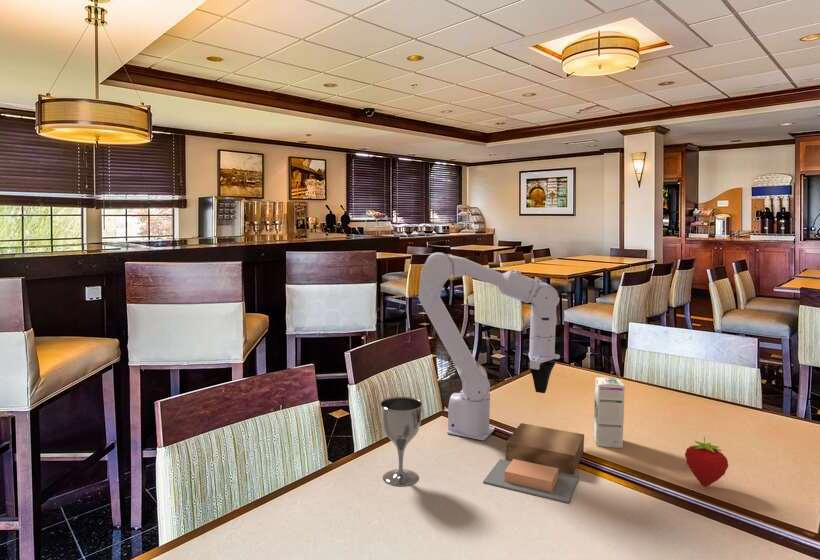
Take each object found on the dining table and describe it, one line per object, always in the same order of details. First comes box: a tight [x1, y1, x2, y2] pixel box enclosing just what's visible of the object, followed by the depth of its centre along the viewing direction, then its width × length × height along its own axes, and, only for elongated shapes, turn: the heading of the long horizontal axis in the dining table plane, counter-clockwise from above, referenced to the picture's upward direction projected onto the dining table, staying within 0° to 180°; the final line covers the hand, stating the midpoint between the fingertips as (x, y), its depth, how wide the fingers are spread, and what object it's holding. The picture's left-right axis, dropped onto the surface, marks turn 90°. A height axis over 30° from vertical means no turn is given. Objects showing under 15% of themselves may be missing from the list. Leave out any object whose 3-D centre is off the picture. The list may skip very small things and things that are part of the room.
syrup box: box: [593, 376, 626, 449], centre depth 120 cm, size 6×6×14 cm
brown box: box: [504, 422, 585, 475], centre depth 113 cm, size 14×12×4 cm
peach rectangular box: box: [504, 459, 558, 492], centre depth 102 cm, size 9×6×2 cm, turn 63°
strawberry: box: [684, 436, 729, 487], centre depth 101 cm, size 6×8×10 cm
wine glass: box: [380, 396, 423, 487], centre depth 103 cm, size 8×8×15 cm
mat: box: [482, 458, 579, 504], centre depth 103 cm, size 16×11×1 cm
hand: (540, 391), depth 124 cm, fingers closed
